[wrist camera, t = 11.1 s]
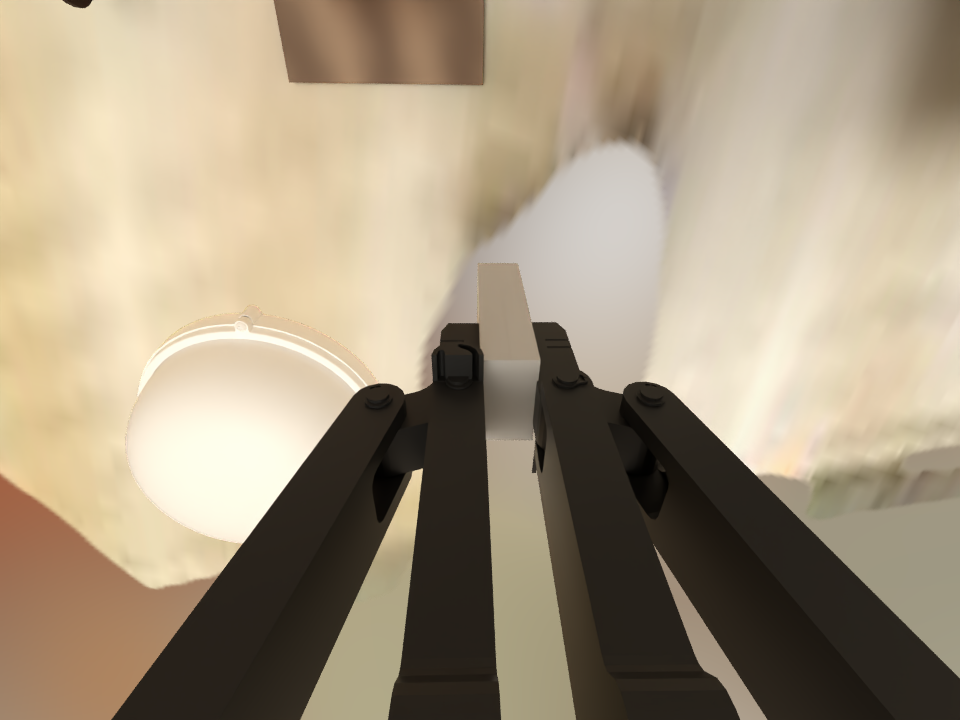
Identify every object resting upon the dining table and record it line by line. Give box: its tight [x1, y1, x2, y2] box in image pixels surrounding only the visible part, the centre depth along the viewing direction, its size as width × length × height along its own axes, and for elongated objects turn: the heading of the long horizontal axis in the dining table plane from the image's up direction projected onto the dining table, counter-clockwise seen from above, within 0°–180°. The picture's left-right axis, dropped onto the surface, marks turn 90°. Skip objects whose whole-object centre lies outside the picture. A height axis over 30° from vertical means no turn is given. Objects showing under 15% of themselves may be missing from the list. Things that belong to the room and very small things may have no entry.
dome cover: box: [125, 305, 379, 543], centre depth 53 cm, size 32×30×14 cm
